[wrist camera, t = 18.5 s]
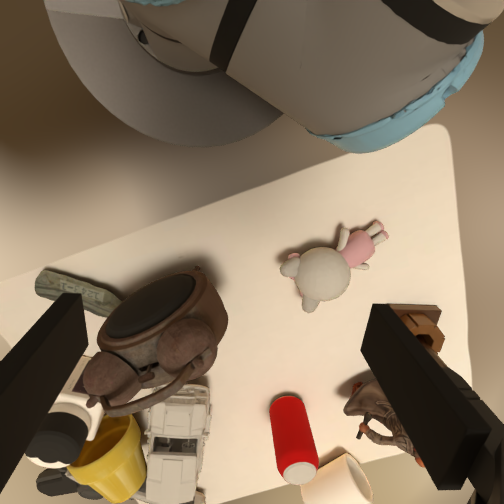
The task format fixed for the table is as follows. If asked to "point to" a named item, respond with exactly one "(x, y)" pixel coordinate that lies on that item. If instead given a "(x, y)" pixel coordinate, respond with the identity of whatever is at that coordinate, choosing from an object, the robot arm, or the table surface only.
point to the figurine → (378, 416)
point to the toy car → (177, 444)
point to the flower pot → (112, 459)
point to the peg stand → (428, 310)
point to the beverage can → (293, 441)
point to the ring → (424, 329)
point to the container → (66, 424)
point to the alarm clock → (156, 342)
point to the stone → (92, 296)
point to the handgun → (87, 487)
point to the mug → (338, 484)
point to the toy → (331, 265)
